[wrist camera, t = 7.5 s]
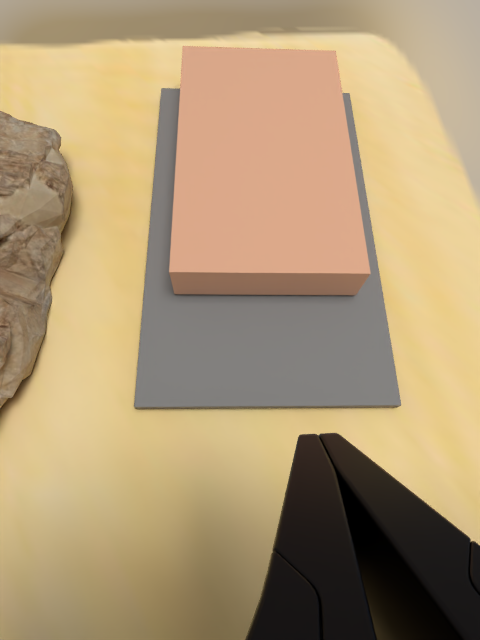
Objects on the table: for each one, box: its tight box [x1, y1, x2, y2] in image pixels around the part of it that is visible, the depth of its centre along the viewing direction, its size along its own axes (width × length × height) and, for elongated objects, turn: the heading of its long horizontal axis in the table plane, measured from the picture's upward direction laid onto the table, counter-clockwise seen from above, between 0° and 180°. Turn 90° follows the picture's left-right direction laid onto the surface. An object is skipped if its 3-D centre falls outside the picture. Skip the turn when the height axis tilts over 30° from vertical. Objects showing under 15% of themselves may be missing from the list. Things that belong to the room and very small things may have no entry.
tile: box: [169, 46, 371, 295], centre depth 22 cm, size 2×9×15 cm
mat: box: [134, 88, 401, 409], centre depth 22 cm, size 20×12×1 cm, turn 1°
